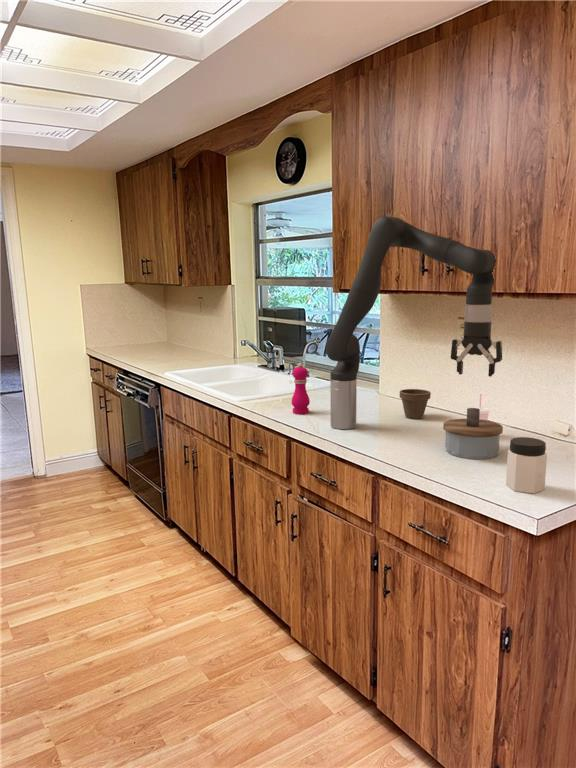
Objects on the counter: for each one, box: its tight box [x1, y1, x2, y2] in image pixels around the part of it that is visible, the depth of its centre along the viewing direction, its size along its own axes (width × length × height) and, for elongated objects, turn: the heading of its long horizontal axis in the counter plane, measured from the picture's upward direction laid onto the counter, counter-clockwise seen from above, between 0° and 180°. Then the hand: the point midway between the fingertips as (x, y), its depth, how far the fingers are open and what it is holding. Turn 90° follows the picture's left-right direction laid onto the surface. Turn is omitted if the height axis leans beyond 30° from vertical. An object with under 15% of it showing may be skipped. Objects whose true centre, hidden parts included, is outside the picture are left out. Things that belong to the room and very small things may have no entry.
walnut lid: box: [442, 407, 504, 437], centre depth 170 cm, size 17×17×6 cm
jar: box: [505, 436, 548, 494], centre depth 141 cm, size 9×8×12 cm
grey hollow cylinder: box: [444, 431, 501, 460], centre depth 171 cm, size 15×15×7 cm
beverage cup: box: [471, 393, 491, 421], centre depth 188 cm, size 6×6×14 cm
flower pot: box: [399, 388, 432, 420], centre depth 214 cm, size 12×11×10 cm
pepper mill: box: [291, 362, 311, 415], centre depth 223 cm, size 7×7×20 cm
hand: (475, 375), depth 167 cm, fingers open, 8 cm apart
